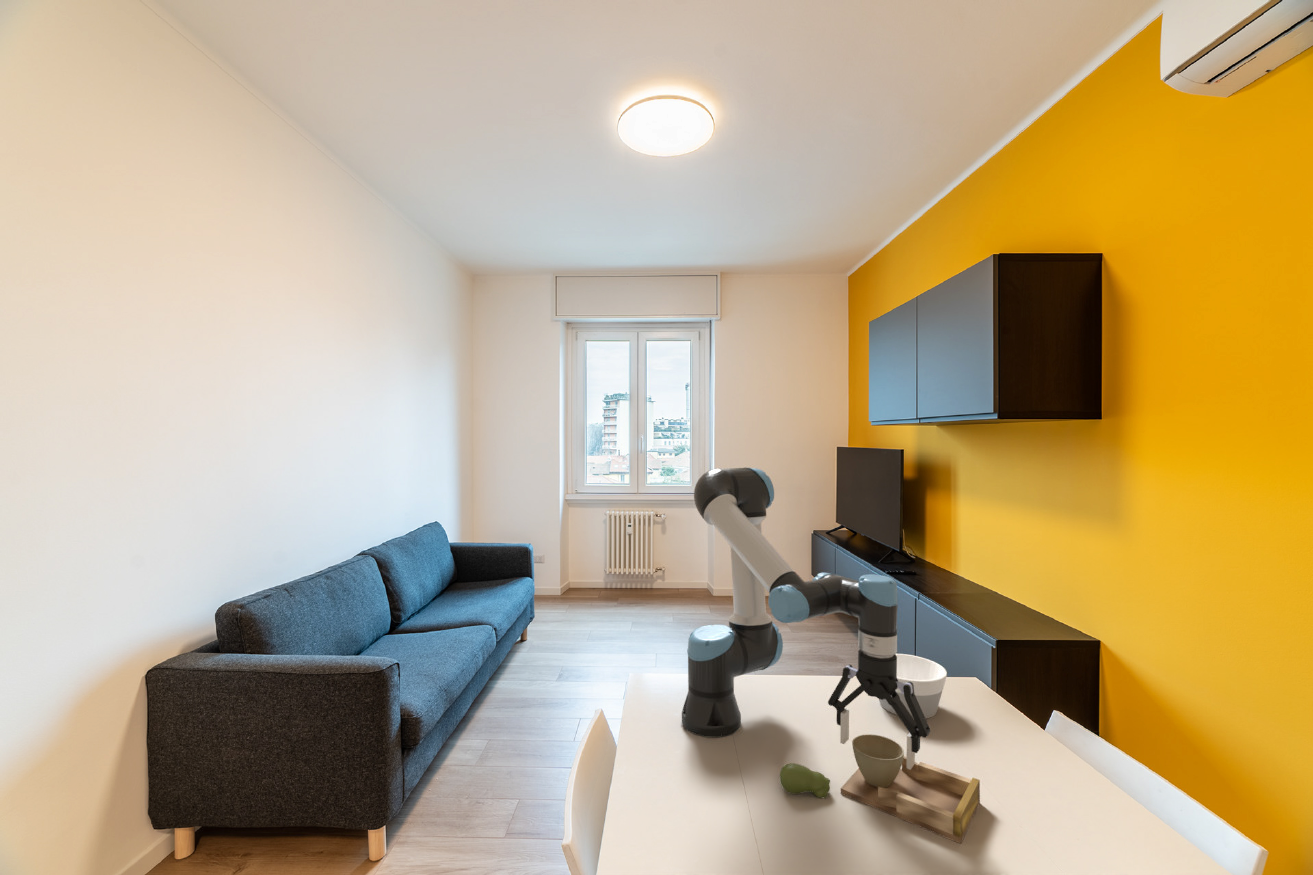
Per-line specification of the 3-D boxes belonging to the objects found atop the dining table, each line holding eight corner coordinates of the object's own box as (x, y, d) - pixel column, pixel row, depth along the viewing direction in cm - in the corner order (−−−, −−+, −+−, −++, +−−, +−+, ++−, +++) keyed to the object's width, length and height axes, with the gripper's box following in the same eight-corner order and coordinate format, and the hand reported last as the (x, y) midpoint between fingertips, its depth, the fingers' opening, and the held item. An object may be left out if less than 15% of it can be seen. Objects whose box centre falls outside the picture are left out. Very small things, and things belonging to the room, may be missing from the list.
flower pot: (909, 798, 110) (909, 761, 110) (856, 792, 112) (856, 756, 112) (898, 769, 120) (897, 736, 120) (849, 764, 122) (849, 731, 122)
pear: (780, 755, 118) (828, 766, 117) (776, 780, 118) (824, 791, 117) (783, 770, 112) (834, 781, 111) (779, 796, 112) (830, 808, 111)
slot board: (840, 793, 114) (840, 771, 114) (868, 761, 125) (868, 741, 125) (960, 843, 99) (960, 818, 99) (980, 802, 111) (979, 779, 111)
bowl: (962, 723, 142) (961, 681, 142) (886, 723, 142) (885, 681, 142) (926, 690, 161) (926, 653, 161) (859, 690, 161) (859, 653, 161)
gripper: (813, 641, 122) (812, 738, 122) (937, 674, 105) (935, 786, 106) (828, 632, 128) (827, 725, 128) (947, 662, 111) (946, 768, 111)
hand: (876, 753), depth 117 cm, fingers open, 13 cm apart
